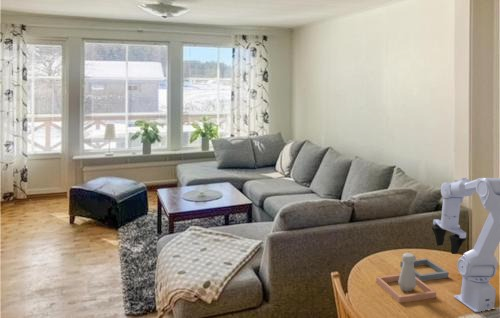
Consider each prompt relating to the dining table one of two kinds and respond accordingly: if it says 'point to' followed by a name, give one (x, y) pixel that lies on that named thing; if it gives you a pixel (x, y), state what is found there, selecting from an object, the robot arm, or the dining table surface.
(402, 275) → the salt shaker
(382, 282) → the salmon pink square frame
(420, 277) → the grey square frame
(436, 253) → the dining table surface
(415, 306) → the dining table surface
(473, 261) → the robot arm
